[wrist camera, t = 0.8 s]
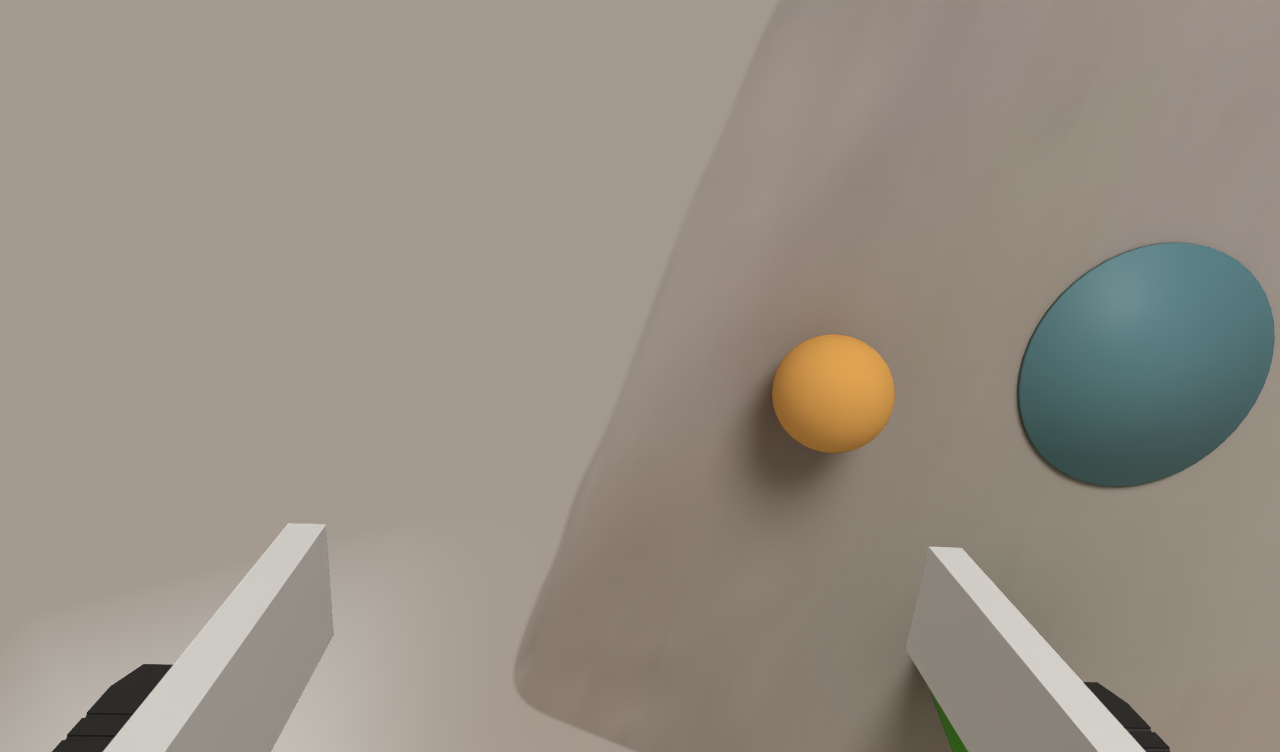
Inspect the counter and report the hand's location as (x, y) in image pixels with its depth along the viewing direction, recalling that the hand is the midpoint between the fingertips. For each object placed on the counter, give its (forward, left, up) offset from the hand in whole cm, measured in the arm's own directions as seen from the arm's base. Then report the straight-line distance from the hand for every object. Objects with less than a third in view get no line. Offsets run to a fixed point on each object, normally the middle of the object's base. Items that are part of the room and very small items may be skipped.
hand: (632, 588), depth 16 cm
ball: (-10, +2, -17) cm, 20 cm away
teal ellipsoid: (-27, +2, -20) cm, 34 cm away
